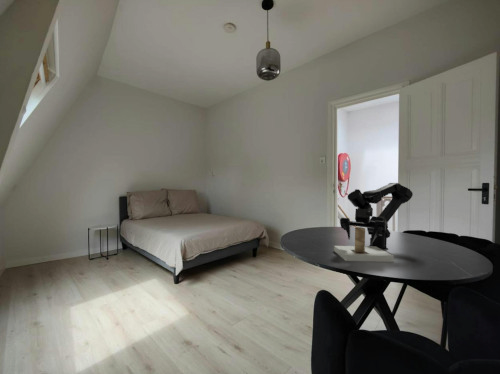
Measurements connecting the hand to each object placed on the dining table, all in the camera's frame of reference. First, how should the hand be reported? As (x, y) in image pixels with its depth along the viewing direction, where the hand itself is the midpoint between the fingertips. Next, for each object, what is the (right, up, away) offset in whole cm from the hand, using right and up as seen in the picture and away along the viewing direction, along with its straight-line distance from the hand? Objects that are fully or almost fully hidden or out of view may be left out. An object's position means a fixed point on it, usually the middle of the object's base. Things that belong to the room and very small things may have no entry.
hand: (360, 240), depth 102 cm
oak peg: (0, -7, 0) cm, 7 cm away
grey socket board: (+2, -7, +2) cm, 8 cm away
